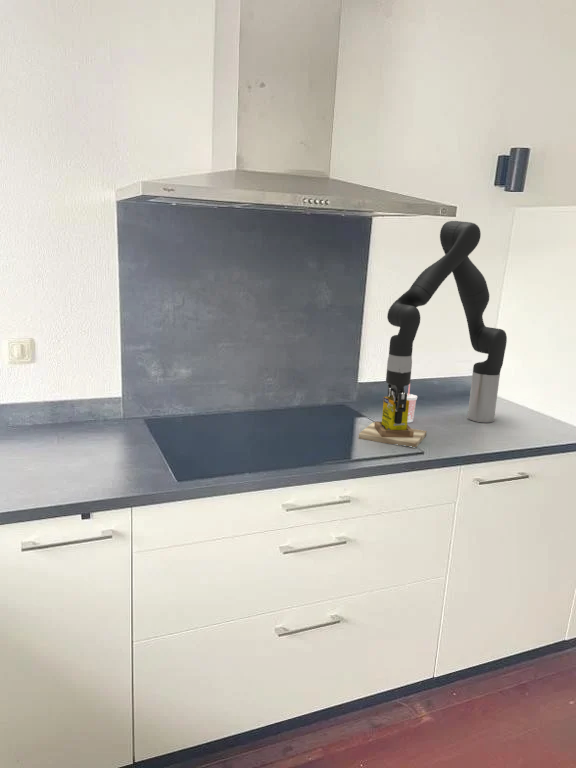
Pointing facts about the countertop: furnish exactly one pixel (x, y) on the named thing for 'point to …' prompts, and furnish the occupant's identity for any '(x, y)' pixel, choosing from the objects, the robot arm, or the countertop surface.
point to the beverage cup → (411, 405)
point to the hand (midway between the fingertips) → (394, 419)
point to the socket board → (392, 440)
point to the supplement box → (393, 415)
